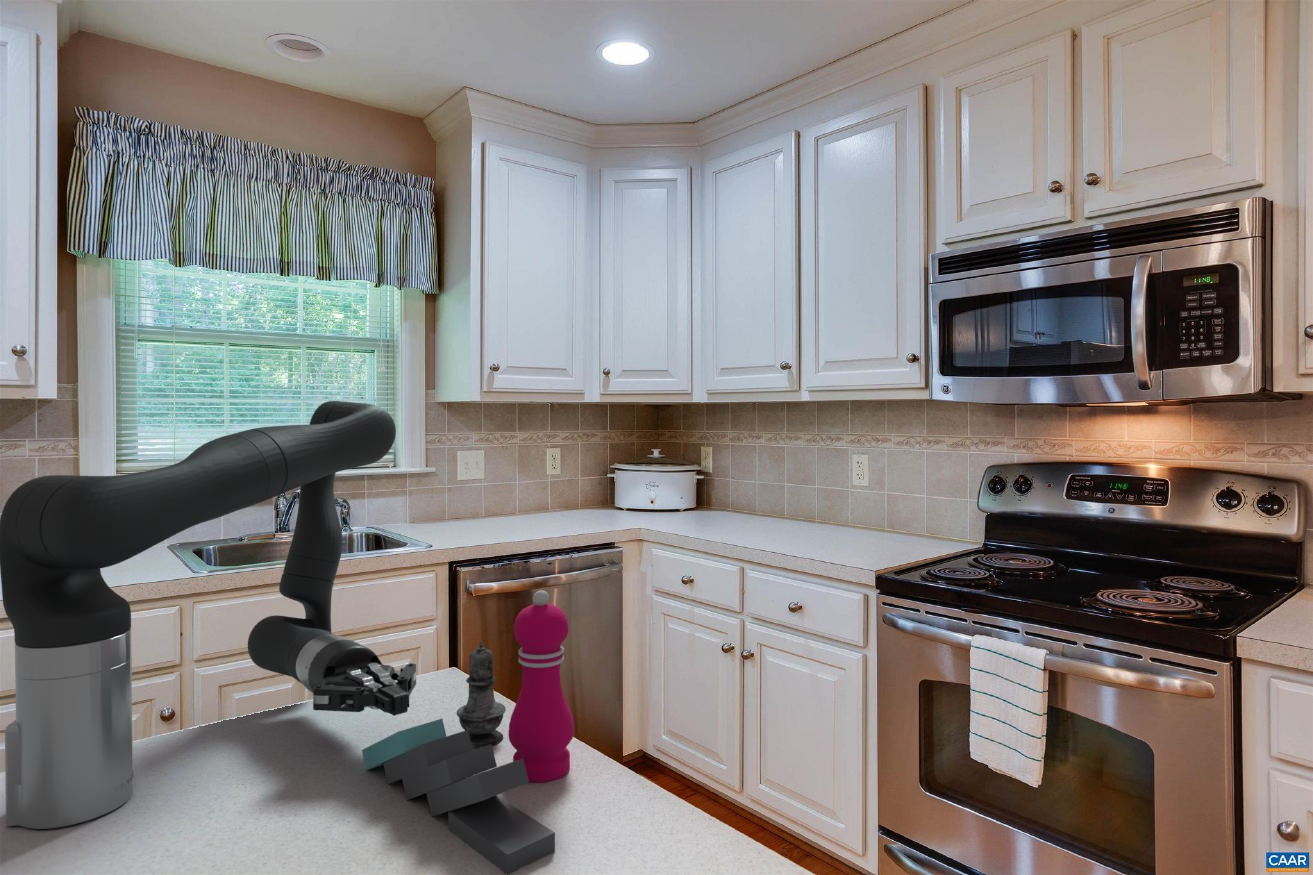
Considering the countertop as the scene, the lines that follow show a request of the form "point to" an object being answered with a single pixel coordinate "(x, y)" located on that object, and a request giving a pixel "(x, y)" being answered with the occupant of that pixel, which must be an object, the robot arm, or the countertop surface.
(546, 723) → the pepper mill
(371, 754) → the domino
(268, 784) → the countertop surface
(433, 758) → the domino
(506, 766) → the domino
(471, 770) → the domino
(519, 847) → the domino
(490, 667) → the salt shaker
